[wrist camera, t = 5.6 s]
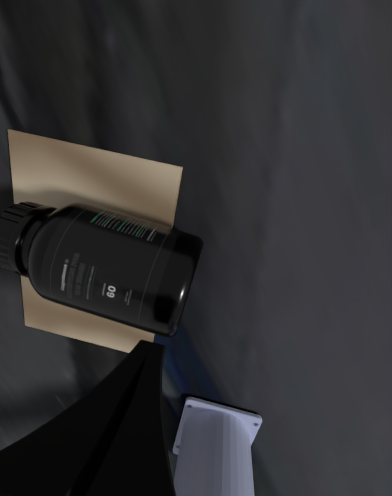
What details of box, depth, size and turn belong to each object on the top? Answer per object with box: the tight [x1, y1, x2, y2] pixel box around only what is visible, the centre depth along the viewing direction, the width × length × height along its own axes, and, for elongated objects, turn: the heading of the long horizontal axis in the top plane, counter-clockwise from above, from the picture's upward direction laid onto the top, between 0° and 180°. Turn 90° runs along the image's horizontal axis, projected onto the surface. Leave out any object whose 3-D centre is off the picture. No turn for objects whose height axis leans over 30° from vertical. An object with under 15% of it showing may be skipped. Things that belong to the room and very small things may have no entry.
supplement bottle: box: [0, 201, 203, 337], centre depth 16 cm, size 7×7×12 cm
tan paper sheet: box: [8, 129, 183, 353], centre depth 20 cm, size 18×13×1 cm
